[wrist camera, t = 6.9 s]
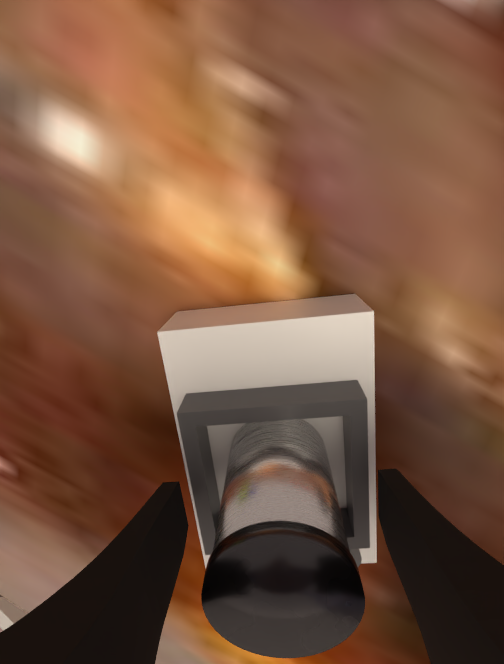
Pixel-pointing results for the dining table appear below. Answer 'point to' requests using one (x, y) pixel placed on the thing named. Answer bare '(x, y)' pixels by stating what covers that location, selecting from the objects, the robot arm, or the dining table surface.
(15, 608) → the crossbow
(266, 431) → the lens
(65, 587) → the robot arm
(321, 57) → the dining table surface
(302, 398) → the camera body
